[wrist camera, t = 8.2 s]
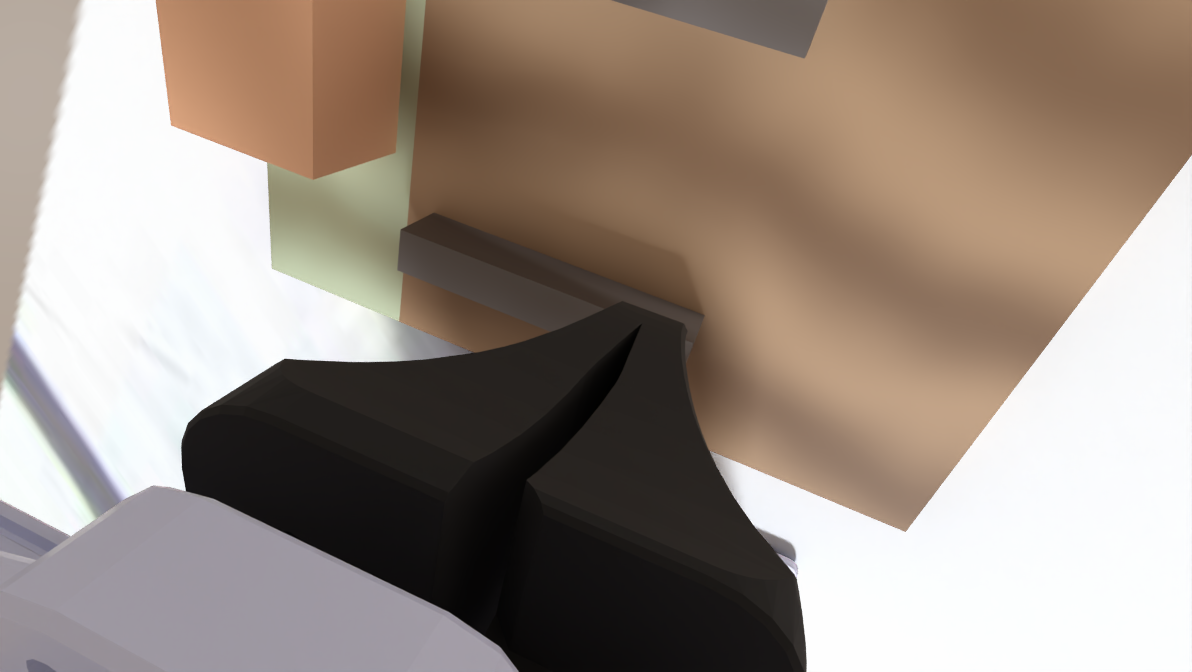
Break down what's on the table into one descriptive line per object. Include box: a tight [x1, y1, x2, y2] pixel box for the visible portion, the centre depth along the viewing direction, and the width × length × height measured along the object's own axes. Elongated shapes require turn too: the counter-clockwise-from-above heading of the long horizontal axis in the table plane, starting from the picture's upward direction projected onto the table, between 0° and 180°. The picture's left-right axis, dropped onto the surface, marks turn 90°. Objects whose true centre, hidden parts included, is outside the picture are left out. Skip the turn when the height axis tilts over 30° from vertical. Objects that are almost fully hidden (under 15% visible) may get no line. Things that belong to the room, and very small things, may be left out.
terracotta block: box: [156, 0, 406, 180], centre depth 18 cm, size 5×5×4 cm
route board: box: [267, 0, 1192, 532], centre depth 18 cm, size 18×26×3 cm
